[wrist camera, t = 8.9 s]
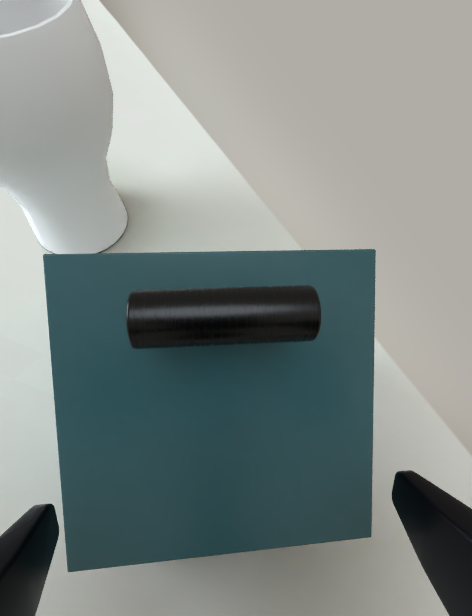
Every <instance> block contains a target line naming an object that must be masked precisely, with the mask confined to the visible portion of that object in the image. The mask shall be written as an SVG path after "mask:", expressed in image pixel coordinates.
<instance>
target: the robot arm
mask: <svg viewBox="0 0 472 616" xmlns="http://www.w3.org/2000/svg"><path fill="white" fill-rule="evenodd" d="M392 501H393V504H394V506H395V508H396V510H397V513H398V515H399V517H400V519H401V521H402V524H403V526H404V528H405V530H406V532H407V535H408V537H409V539H410V541H411V543H412V545H413V548H414V550H415V552H416V554H417V556H418V559H419V561H420V563H421V565H422V567H423V569H424V571H425V572H426V574H427V576H428V578H429V580H430V582H431V583H432V585H433V587H434V589H435V591H436V592H437V594H438V596H439V598H440V600H441V601H442V603H443V605H444V607H445V608H446V610H447V612H448V614H449V616H472V509H471V508H470V507H468V506H466V505H465V504H463V503H462V502H460V501H459V500H457V499H456V498H454V497H452V496H451V495H449V494H448V493H446V492H445V491H443V490H442V489H440V488H438V487H437V486H435V485H434V484H432V483H431V482H429V481H428V480H426V479H425V478H423V477H421V476H420V475H418V474H417V473H415V472H413V471H399V472H397V473H396V475H395V479H394V485H393V490H392ZM58 535H59V526H58V521H57V517H56V513H55V508H54V506H53V505H52V504H41V505H35V506H33V507H32V508H31V509H29V510H28V511H27V512H26V513H25V514H24V515H23V516H22V517H21V518H20V519H18V520H17V521H16V522H15V523H14V524H13V525H12V526H11V527H10V528H9V529H8V530H6V531H5V532H4V533H3V534H2V535H1V536H0V616H35V614H36V611H37V608H38V604H39V601H40V598H41V594H42V591H43V588H44V584H45V581H46V577H47V574H48V571H49V567H50V564H51V560H52V557H53V554H54V550H55V547H56V543H57V540H58Z"/></svg>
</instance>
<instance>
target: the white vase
mask: <svg viewBox="0 0 472 616" xmlns="http://www.w3.org/2000/svg"><path fill="white" fill-rule="evenodd" d="M112 128H113V91H112V87H111V83H110V79H109V75H108V71H107V67H106V63H105V59H104V55H103V51H102V48H101V45H100V42H99V40H98V37H97V35H96V33H95V31H94V29H93V26H92V24H91V22H90V20H89V18H88V15H87V13H86V11H85V9H84V7H83V4H82V2H81V0H0V186H1V187H3V188H4V189H5V190H6V191H7V192H8V193H9V194H10V195H11V196H12V197H13V198H14V199H15V200H16V201H17V202H18V203H19V204H20V205H21V206H22V208H23V210H24V212H25V215H26V217H27V219H28V222H29V224H30V226H31V228H32V230H33V232H34V234H35V236H36V237H37V239H38V241H39V243H40V244H41V245H42V246H43V247H44V248H45V249H47V250H49V251H51V252H53V253H55V254H95V253H98V252H100V251H103V250H105V249H107V248H108V247H110V246H111V245H112V244H114V243H115V242H116V241H117V240H118V239H119V238H120V237H121V236H122V234H123V232H124V230H125V228H126V226H127V219H128V216H127V212H126V209H125V207H124V204H123V202H122V200H121V198H120V196H119V195H118V193H117V191H116V189H115V188H114V186H113V184H112V182H111V181H110V178H109V173H108V167H107V161H106V156H107V152H108V148H109V144H110V139H111V134H112Z"/></svg>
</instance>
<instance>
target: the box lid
mask: <svg viewBox="0 0 472 616" xmlns="http://www.w3.org/2000/svg"><path fill="white" fill-rule="evenodd" d="M375 252H376V251H375V250H374V249H365V250H364V249H361V250H294V251H228V252H161V253H95V254H44V255H43V261H44V274H45V287H46V299H47V312H48V325H49V338H50V350H51V363H52V376H53V389H54V401H55V414H56V427H57V440H58V452H59V465H60V478H61V490H62V503H63V516H64V529H65V541H66V554H67V567H68V572H74V571H83V570H91V569H100V568H109V567H117V566H126V565H135V564H143V563H152V562H161V561H169V560H178V559H186V558H195V557H204V556H212V555H221V554H230V553H238V552H247V551H255V550H264V549H273V548H281V547H290V546H299V545H307V544H316V543H324V542H333V541H342V540H350V539H359V538H368V537H371V522H372V454H373V387H374V319H375V315H374V314H375Z"/></svg>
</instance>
